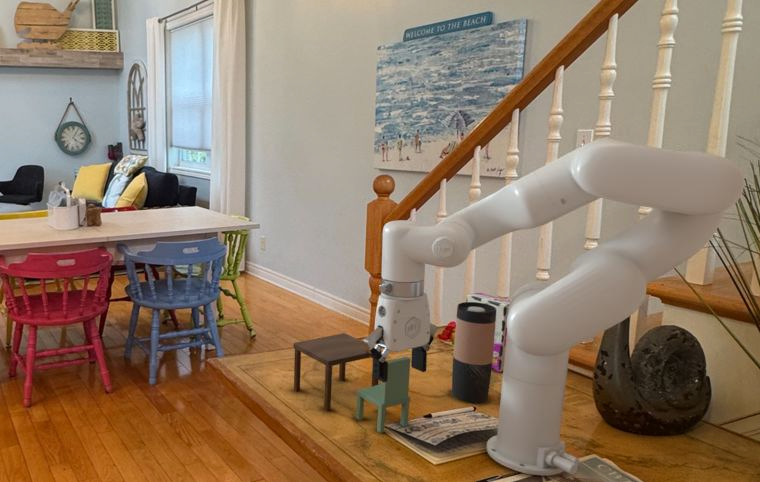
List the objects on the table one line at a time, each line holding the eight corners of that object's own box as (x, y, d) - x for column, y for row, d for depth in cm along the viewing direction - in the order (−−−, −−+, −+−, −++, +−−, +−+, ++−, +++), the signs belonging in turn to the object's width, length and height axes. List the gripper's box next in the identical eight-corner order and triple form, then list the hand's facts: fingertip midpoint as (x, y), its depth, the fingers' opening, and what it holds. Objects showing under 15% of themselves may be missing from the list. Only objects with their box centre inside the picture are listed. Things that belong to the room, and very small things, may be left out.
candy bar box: (514, 369, 151) (520, 303, 147) (499, 373, 148) (505, 305, 145) (475, 354, 161) (480, 291, 157) (460, 357, 158) (465, 294, 155)
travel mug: (490, 393, 138) (498, 304, 134) (487, 406, 132) (495, 314, 128) (453, 385, 142) (459, 299, 138) (447, 399, 135) (454, 309, 132)
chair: (408, 425, 124) (412, 357, 121) (380, 433, 121) (384, 364, 118) (382, 410, 131) (385, 346, 128) (355, 417, 128) (357, 352, 125)
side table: (379, 398, 136) (381, 349, 134) (326, 411, 130) (328, 361, 128) (342, 378, 147) (344, 332, 145) (292, 389, 141) (293, 342, 139)
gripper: (381, 298, 111) (378, 391, 114) (452, 285, 118) (448, 372, 121) (352, 289, 117) (350, 376, 120) (421, 277, 124) (418, 359, 128)
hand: (399, 374), depth 121 cm, fingers open, 9 cm apart
